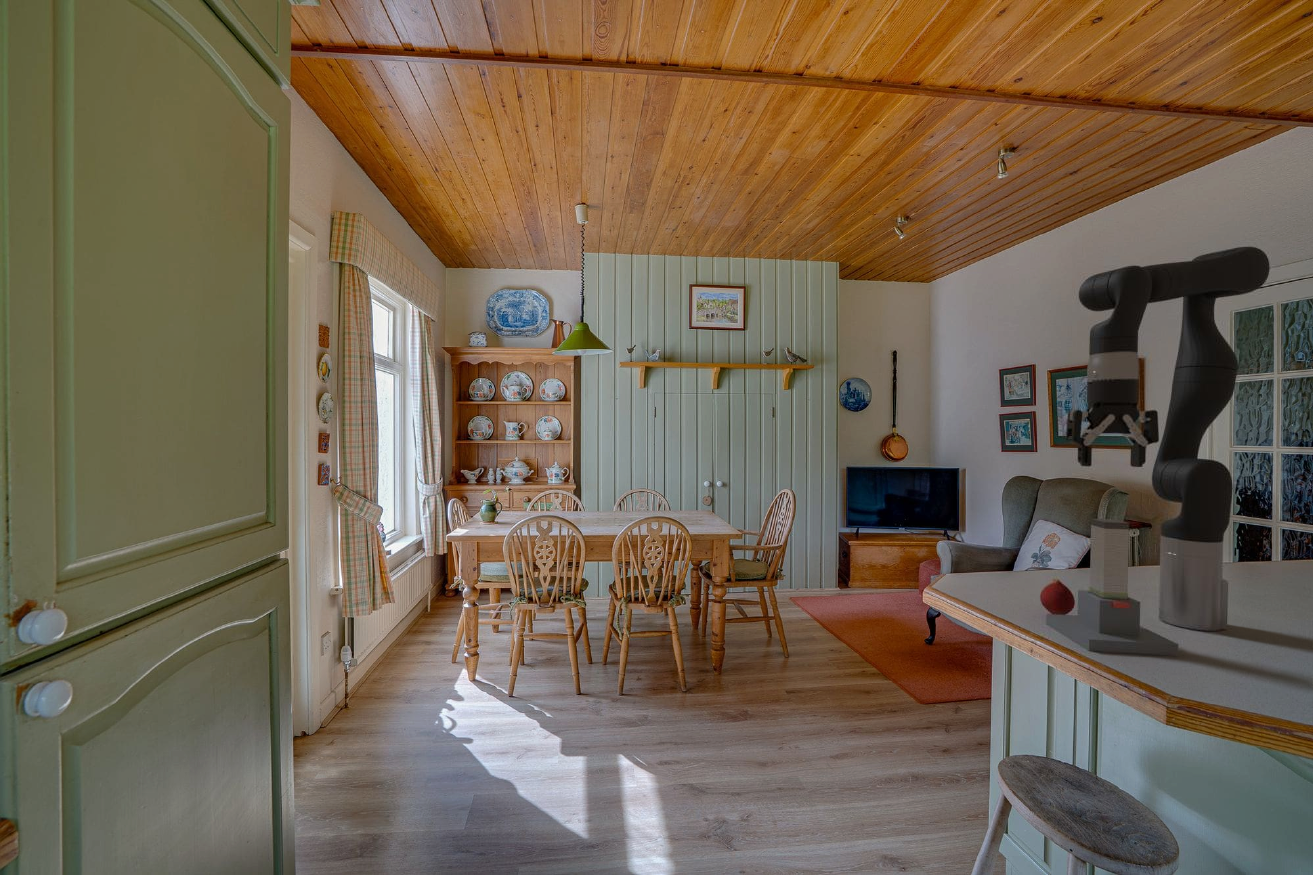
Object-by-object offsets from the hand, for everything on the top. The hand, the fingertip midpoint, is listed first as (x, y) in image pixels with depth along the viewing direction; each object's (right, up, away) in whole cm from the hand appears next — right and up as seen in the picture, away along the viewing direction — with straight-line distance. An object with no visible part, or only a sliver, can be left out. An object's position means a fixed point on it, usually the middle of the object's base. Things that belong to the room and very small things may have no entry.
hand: (1110, 466), depth 106 cm
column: (0, -24, 0) cm, 24 cm away
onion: (-1, -32, +13) cm, 34 cm away
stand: (0, -32, 0) cm, 32 cm away
